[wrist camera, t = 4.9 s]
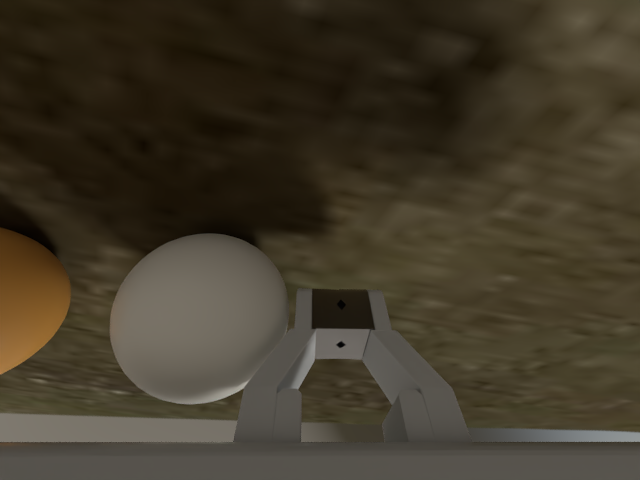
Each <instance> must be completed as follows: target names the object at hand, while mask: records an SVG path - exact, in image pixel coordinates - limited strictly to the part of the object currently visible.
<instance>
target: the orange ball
mask: <svg viewBox="0 0 640 480" xmlns="http://www.w3.org/2000/svg"><path fill="white" fill-rule="evenodd" d="M70 299H71V288H70V282H69V278H68V275H67V272H66V270H65V268H64V267H63V265H62V264H61V262H60V261H59V260H58V258H57V257H56V256H55V255H54V254H53V253H52V252H50V251H49V250H48V249H47V248H46V247H44V246H43V245H41V244H40V243H38V242H37V241H35V240H33V239H31V238H29V237H27V236H24V235H22V234H19V233H17V232H14V231H11V230H8V229H4V228H0V374H2V373H4V372H6V371H8V370H10V369H12V368H13V367H15V366H17V365H19V364H20V363H22V362H23V361H25V360H26V359H28V358H29V357H31V356H32V355H33V354H34V353H36V352H37V351H38V350H39V349H40V348H42V347H43V346H44V345H45V344H46V343H47V342H48V341H49V340H50V339H51V338H52V337H53V335H54V334H55V333H56V331H57V330H58V329H59V327H60V326H61V324H62V322H63V320H64V318H65V317H66V314H67V311H68V308H69V305H70Z"/></svg>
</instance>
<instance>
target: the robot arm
mask: <svg viewBox="0 0 640 480" xmlns="http://www.w3.org/2000/svg"><path fill="white" fill-rule="evenodd" d="M338 358H339V359H363V360H362V361H363V362H364V364H365V365H366V367H367V368H368V370H369V371H370V373H371V374H372V376H373V377H374V379H375V380H376V382H377V383H378V385H379V386H380V388H381V389H382V391H383V392H384V393H385V395H386V396H387V398H388V399H389V401H390V402H391V404H392V407H391V409H390V411H389V413H388V414H387V416H386V418H385V420H384V422H383V424H382V426H383V432H384V439H385V442H301V393H300V392H299V391H298V388H299V387H300V385H301V383H302V382H303V380H304V378H305V376H306V375H307V373H308V371H309V369H310V368H311V366H312V364H313V362H314V361H315V359H338ZM0 480H640V442H472V440H471V437H470V435H469V432H468V429H467V427H466V424H465V421H464V418H463V416H462V413H461V410H460V408H459V405H458V402H457V400H456V397H455V394H454V392H453V389H452V388H451V387H450V386H449V385H448V384H447V383H446V382H445V380H444V379H443V378H442V377H441V376H440V375H439V374H438V373H437V372H436V371H435V370H434V369H433V368H432V367H431V366H430V365H429V364H428V363H427V362H426V361H425V360H424V359H423V358H422V357H421V356H420V355H419V354H418V352H417V351H416V350H415V349H414V348H413V347H412V346H411V345H410V344H409V343H408V342H407V341H406V340H405V339H404V338H403V337H402V336H401V335H400V334H399V333H398V332H397V331H396V330H392V328H391V324H390V320H389V316H388V312H387V308H386V304H385V300H384V296H383V293H382V291H381V290H355V289H339V290H331V289H304V288H298V290H297V300H296V314H295V328H294V329H290V330H289V331H288V332H287V334H286V335H285V336H284V337H283V339H282V340H281V341H280V342H279V344H278V345H277V346H276V348H275V349H274V350H273V351H272V353H271V354H270V355H269V356H268V358H267V359H266V360H265V361H264V363H263V364H262V365H261V367H260V368H259V369H258V370H257V372H256V373H255V374H254V375H253V377H252V378H251V379H250V380H249V382H248V383H247V384H246V386H245V387H244V392H243V397H242V402H241V407H240V411H239V416H238V421H237V426H236V431H235V436H234V441H233V442H22V443H21V442H0Z"/></svg>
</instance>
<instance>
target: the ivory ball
mask: <svg viewBox="0 0 640 480" xmlns="http://www.w3.org/2000/svg"><path fill="white" fill-rule="evenodd" d="M288 318H289V302H288V295H287V290H286V287H285V284H284V281H283V279H282V277H281V275H280V273H279V271H278V269H277V268H276V267H275V265H274V264H273V262H272V261H271V260H270V259H269V258H268V257H267V256H266V255H265V254H264V253H263V252H262V251H260V250H259V249H258V248H256V247H255V246H253V245H251V244H250V243H248V242H246V241H244V240H241V239H239V238H236V237H232V236H228V235H224V234H215V233H205V234H195V235H189V236H184V237H181V238H178V239H175V240H173V241H170V242H167V243H166V244H164V245H162V246H160V247H158V248H157V249H155V250H153V251H152V252H150V253H149V254H148V255H146V256H145V257H144V258H143V259H142V260H141V261H140V262H139V263H138V264H137V265H136V266H135V267H134V268H133V269H132V270H131V271H130V273H129V274H128V275H127V277H126V278H125V280H124V281H123V283H122V284H121V286H120V288H119V290H118V292H117V295H116V297H115V300H114V303H113V307H112V311H111V317H110V339H111V344H112V348H113V351H114V354H115V357H116V360H117V361H118V363H119V365H120V367H121V368H122V370H123V372H124V373H125V374H126V375H127V376H128V378H129V379H130V380H131V381H132V382H133V383H134V384H135V385H136V386H137V387H139V388H140V389H142V390H143V391H145V392H146V393H148V394H150V395H152V396H154V397H156V398H159V399H161V400H165V401H169V402H174V403H178V404H199V403H208V402H212V401H216V400H220V399H222V398H225V397H227V396H230V395H232V394H234V393H236V392H238V391H240V390H241V389H243V388H244V387H245V386H246V384H247V383H248V382H249V380H250V379H251V378H252V377H253V375H254V374H255V373H256V372H257V370H258V369H259V368H260V367H261V365H262V364H263V363H264V361H265V360H266V359H267V358H268V356H269V355H270V354H271V353H272V351H273V350H274V349H275V348H276V346H277V345H278V344H279V342H280V341H281V340H282V339H283V337H284V336H285V333H286V330H287V325H288Z"/></svg>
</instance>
